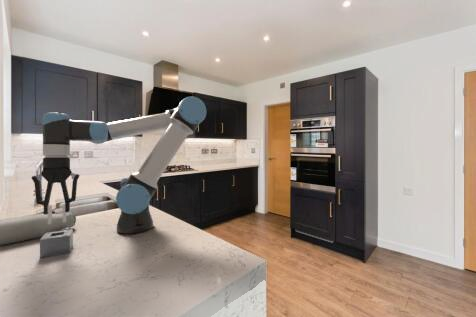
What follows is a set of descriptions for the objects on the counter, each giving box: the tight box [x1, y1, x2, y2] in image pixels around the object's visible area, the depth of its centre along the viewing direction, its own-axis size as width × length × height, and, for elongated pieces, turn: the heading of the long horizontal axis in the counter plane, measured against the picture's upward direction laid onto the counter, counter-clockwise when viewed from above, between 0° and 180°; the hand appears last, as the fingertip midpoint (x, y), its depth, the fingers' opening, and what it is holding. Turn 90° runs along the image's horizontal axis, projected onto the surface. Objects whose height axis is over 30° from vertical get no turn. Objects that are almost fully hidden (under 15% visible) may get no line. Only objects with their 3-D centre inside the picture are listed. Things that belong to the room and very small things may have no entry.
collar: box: [39, 228, 74, 258], centre depth 79 cm, size 8×8×6 cm
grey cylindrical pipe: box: [0, 211, 77, 246], centre depth 94 cm, size 10×10×28 cm
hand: (57, 222), depth 80 cm, fingers open, 3 cm apart
